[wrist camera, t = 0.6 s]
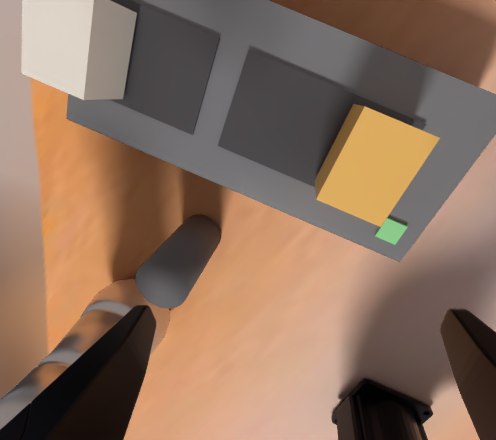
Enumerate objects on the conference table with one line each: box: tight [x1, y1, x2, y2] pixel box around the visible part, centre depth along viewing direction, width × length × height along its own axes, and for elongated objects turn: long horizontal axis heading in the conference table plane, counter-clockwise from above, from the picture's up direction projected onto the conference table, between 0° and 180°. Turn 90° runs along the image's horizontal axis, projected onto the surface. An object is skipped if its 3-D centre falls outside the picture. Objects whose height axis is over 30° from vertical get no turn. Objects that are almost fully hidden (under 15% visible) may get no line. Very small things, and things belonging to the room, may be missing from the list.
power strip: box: [67, 0, 496, 262], centre depth 17 cm, size 23×9×4 cm, turn 69°
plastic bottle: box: [0, 279, 170, 429], centre depth 18 cm, size 6×7×20 cm
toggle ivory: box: [22, 0, 137, 100], centre depth 13 cm, size 3×4×3 cm
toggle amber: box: [315, 104, 440, 227], centre depth 13 cm, size 3×4×3 cm
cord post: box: [135, 215, 221, 308], centre depth 20 cm, size 3×3×7 cm
